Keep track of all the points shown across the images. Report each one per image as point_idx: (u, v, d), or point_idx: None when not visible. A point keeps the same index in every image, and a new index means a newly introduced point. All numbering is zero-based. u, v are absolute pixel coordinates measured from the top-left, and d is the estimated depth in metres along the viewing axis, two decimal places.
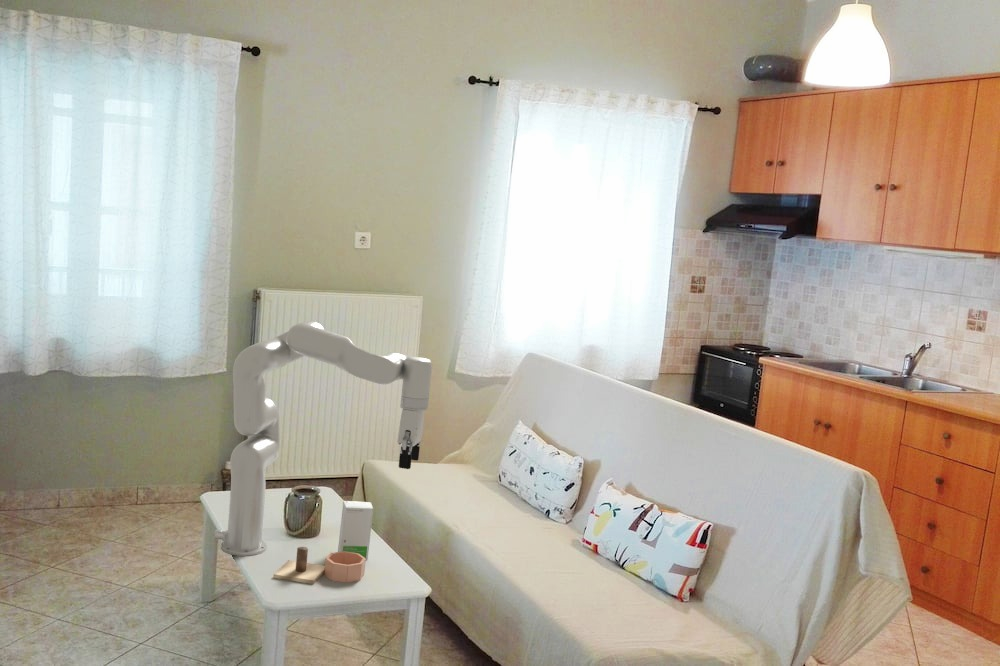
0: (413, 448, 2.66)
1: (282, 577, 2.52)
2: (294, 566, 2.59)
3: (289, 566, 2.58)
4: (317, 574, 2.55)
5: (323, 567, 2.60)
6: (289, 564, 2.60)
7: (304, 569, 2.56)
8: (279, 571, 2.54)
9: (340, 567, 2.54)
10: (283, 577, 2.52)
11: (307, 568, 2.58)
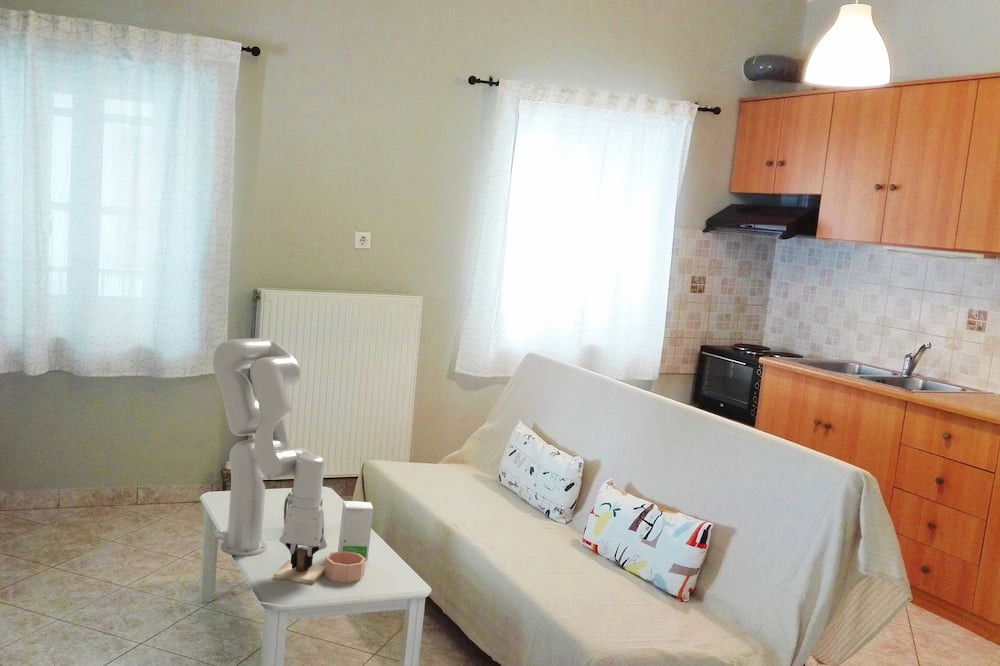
0: None
1: (282, 577, 2.52)
2: None
3: (289, 566, 2.58)
4: (317, 574, 2.55)
5: (323, 567, 2.60)
6: (289, 564, 2.60)
7: None
8: (279, 571, 2.54)
9: (340, 567, 2.54)
10: (283, 577, 2.52)
11: None
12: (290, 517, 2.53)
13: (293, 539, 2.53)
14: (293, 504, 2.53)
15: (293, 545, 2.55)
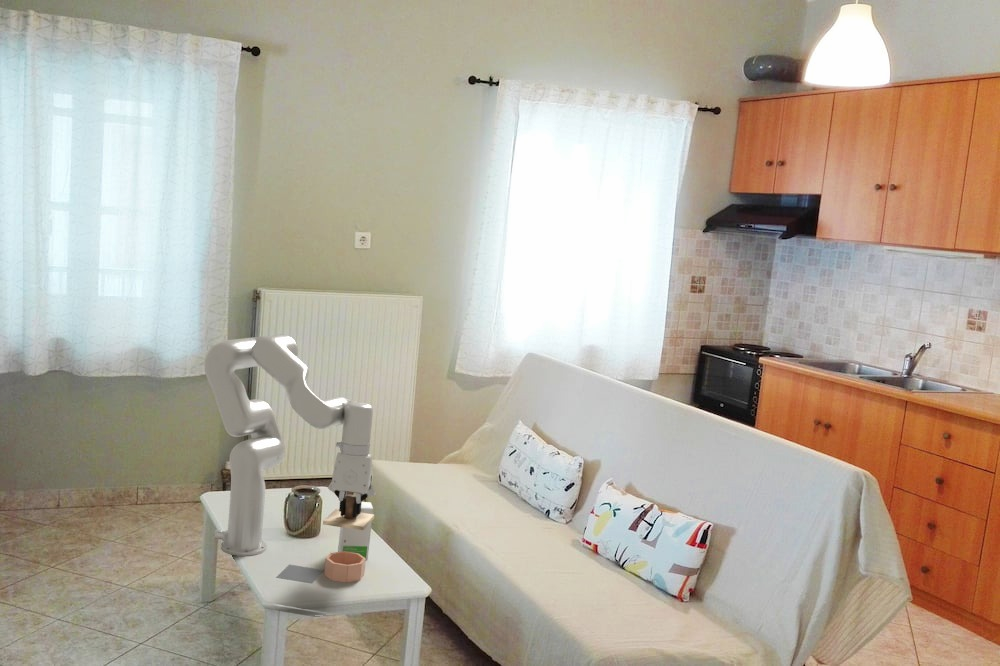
0: None
1: (331, 524, 2.53)
2: None
3: (338, 514, 2.59)
4: (366, 521, 2.56)
5: (371, 515, 2.61)
6: (337, 512, 2.60)
7: None
8: (328, 518, 2.55)
9: (340, 567, 2.54)
10: (332, 524, 2.53)
11: None
12: (339, 464, 2.54)
13: (342, 486, 2.54)
14: (342, 451, 2.53)
15: (342, 492, 2.56)
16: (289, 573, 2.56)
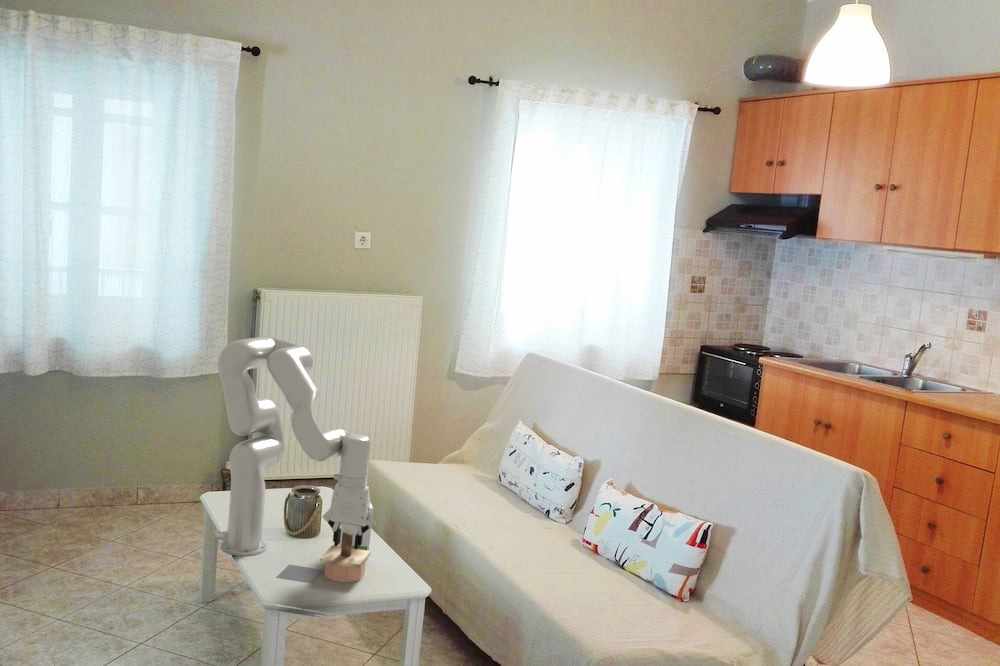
0: (339, 533, 2.59)
1: (328, 561, 2.54)
2: (339, 551, 2.61)
3: (334, 551, 2.60)
4: (362, 559, 2.57)
5: (367, 552, 2.62)
6: (333, 549, 2.62)
7: (349, 554, 2.58)
8: (324, 555, 2.56)
9: (340, 567, 2.54)
10: (329, 561, 2.54)
11: (352, 553, 2.61)
12: (336, 496, 2.55)
13: (339, 518, 2.55)
14: (340, 483, 2.54)
15: (337, 523, 2.57)
16: (289, 573, 2.56)
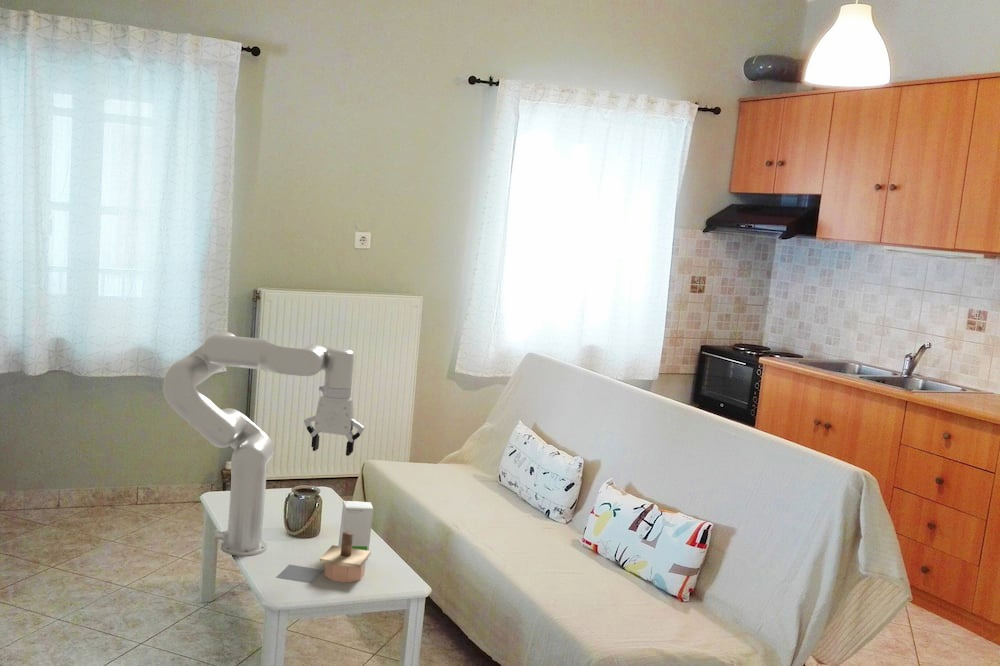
0: (317, 438, 2.69)
1: (328, 561, 2.54)
2: (339, 551, 2.61)
3: (334, 551, 2.60)
4: (362, 559, 2.57)
5: (367, 552, 2.62)
6: (333, 549, 2.62)
7: (349, 554, 2.58)
8: (324, 555, 2.56)
9: (340, 567, 2.54)
10: (329, 561, 2.54)
11: (352, 553, 2.61)
12: (321, 407, 2.65)
13: (324, 428, 2.66)
14: (324, 394, 2.65)
15: (317, 430, 2.68)
16: (289, 573, 2.56)
